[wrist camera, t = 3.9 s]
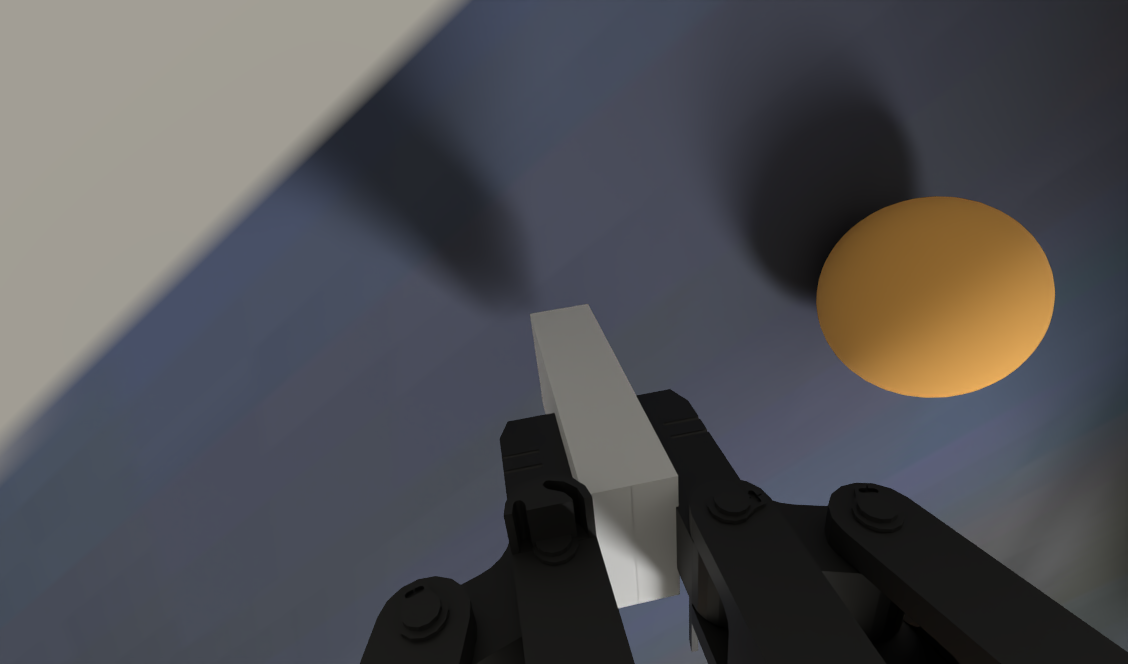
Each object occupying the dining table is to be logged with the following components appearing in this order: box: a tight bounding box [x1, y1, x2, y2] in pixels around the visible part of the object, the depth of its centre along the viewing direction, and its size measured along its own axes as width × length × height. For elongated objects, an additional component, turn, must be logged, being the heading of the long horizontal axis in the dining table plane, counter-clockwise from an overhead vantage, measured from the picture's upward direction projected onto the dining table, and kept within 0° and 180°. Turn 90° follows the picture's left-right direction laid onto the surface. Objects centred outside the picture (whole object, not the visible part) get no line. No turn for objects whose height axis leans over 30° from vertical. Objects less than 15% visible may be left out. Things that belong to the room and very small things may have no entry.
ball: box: [816, 196, 1055, 398], centre depth 16 cm, size 6×6×6 cm
